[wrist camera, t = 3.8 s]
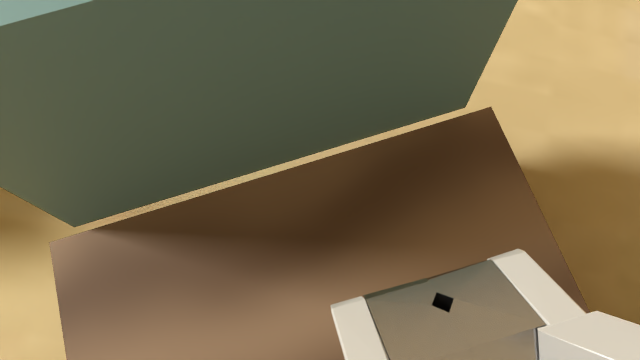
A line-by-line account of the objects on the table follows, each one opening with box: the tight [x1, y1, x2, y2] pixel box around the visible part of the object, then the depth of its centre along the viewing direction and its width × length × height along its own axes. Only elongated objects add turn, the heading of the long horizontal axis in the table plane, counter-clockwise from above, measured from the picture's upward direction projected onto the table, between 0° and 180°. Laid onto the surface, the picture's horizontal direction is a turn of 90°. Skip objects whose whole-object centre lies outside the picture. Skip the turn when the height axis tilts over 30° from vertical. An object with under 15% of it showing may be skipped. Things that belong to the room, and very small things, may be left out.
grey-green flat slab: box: [0, 0, 518, 227], centre depth 16 cm, size 3×16×11 cm, turn 107°
